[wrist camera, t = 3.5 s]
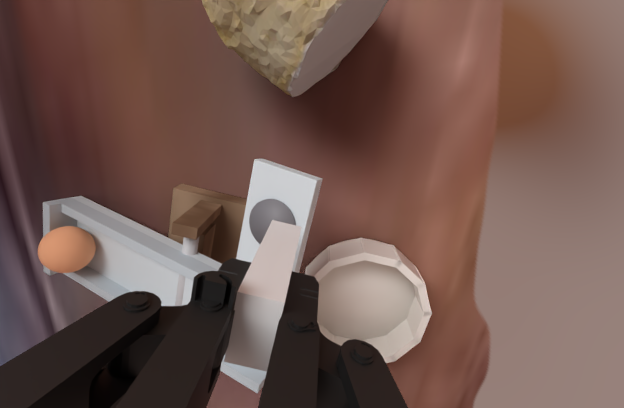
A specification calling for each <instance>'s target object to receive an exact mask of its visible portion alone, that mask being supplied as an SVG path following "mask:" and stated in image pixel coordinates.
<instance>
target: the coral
mask: <svg viewBox="0 0 624 408" xmlns="http://www.w3.org/2000/svg"><path fill="white" fill-rule="evenodd" d="M387 1H388V0H202V2H203V6H204V7H205V9H206V11H207V14H208V16H209V18H210V21H211V23H212V24H213V25H214V26H215V28H216V31H217V32H218V34H219V36H220V38H221V39H222V41H223V42H224V43H225V45H226V46H227V47H228V48H229V49H233V50H234V51H235V52H236V53H237V54H238V55H239V56H240V57H242V58H243V59H244V61H245V62H246V63H248V64H249V65H250V66H251V67H252V68H254V69H255V70H256V71H257V72H258V73H259V74H261V75H262V76H263V77H265V78H268V79H269V80H270V81H271V83H272V84H275V85H276V86H277V87H279V88H280V89H281V90H282V91H283V92H285V93H286V94H288V95H290V96H291V97H294V96H299V95H301V94H302V93H304V92H305V91H306V90H308V89H309V88H310V87H312V86H313V85H314V84H315V83H317V82H318V81H320V80H321V79H323V78H324V77H326V76H327V75H328V74H329V73H331V72H332V71H334V70H336V68H337V67H338V66H339V64H340V62H341V60H342V59H343V58H344V57H345V56H347V55H348V53H349V52H350V51H351V50H352V49H353V47H354V46H355V45H356V44H357V43H358V42H359V40H360V39H361V38H362V37H363V36H364V34H365V33H366V32H367V31H368V30H369V28H370V27H371V26H372V25H373V23H374V22H375V21H376V20H377V19H378V17H379V15H380V13H381V12H382V10H383V8H384V6H385V5H386V3H387Z"/></svg>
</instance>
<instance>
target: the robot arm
mask: <svg viewBox="0 0 624 408" xmlns="http://www.w3.org/2000/svg"><path fill="white" fill-rule="evenodd" d="M301 228H302V227H300V226H296V225H292V224H288V223H283V222H279V221H275V220H272V222H271V224H270V226H269V228H268V230H267V232H266V234H265V236H264V238H263V240H262V242H261V244H260V246H259V248H258V250H257V252H256V254H255V257H254V259H253V261H252V263H251V262H247V261H243V260H238V259H234V258H231V259H229V260H227V261H225V262H223V264H222V265H221V267H220V268H219V270H218V271H205V272H202V273H199V274H197V275H196V276H195V277H194V280H193V287H192V294H191V300H190V302H189V303H188V304H187V305H182V306H161V300H160V298H159V297H158V296H157V295H155V294H154V293H150V292H146V291H133V292H128V293H125V294H123V295H120V296H118V297H116V298H115V299H113V300H111V301H110V302H108V303H106V304H105V305H103V306H101V307H99V308H98V309H96V310H94V311H93V312H91V313H89V314H88V315H86V316H84V317H83V318H81V319H79V320H78V321H76V322H74V323H73V324H71V325H69V326H67V327H66V328H64V329H62V330H61V331H59V332H57V333H56V334H54V335H52V336H51V337H49V338H47V339H46V340H44V341H42V342H41V343H39V344H37V345H35V346H34V347H32V348H30V349H29V350H27V351H25V352H24V353H22V354H20V355H19V356H17V357H15V358H14V359H12V360H10V361H8V362H7V363H5V364H3V365H2V366H0V408H206V406H207V404H208V402H209V399H210V397H211V394H212V392H213V389H214V387H215V384H216V382H217V379H218V377H219V374H220V368H221V363H222V360H223V358H224V355H225V358H224V362H228V363H232V364H236V365H241V366H245V367H249V368H254V369H258V370H262V371H267V373H266V377H265V381H264V385H263V389H262V393H261V397H260V401H259V406H258V408H408V407H407V405H406V403H405V401H404V399H403V397H402V395H401V393H400V391H399V389H398V387H397V385H396V383H395V381H394V379H393V377H392V375H391V373H390V371H389V369H388V367H387V365H386V363H385V361H384V359H383V356H382V355H381V354H380V352H379V351H378V350H377V349H376V348H375V347H374V346H372V345H371V344H369V343H367V342H365V341H362V340H357V339H352V340H347V341H346V342H344V343H343V344H342V346H340V345H338V344H336V343H334V342H332V341H331V340H329V339H327V338H326V337H325V336H324V335H323V334H322V333H321V332H320V328H319V324H318V323H317V315H318V297H319V283H318V281H317V280H316V278H315V277H314V276H310V275H306V274H301V273H297V272H293V271H292V268H293V264H294V259H295V255H296V250H297V246H298V241H299V237H300V232H301Z"/></svg>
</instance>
